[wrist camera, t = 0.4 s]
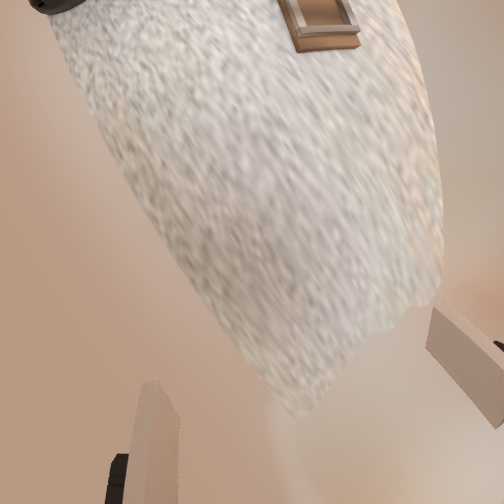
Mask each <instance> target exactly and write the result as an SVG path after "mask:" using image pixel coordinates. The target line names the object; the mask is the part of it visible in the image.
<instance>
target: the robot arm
mask: <svg viewBox="0 0 504 504" xmlns="http://www.w3.org/2000/svg"><path fill="white" fill-rule="evenodd" d="M83 1H85V0H29V3H30V5H31V6H32V7H33V8H35V9H36V10H37V11H39V12H40V13H43V14H56V13H60V12H63V11H66V10H68V9H71V8H73V7H75V6H77V5H78V4H80V3H82V2H83ZM425 348H426V349H427V350H428V351H429V352H430V353H431V355H432V356H433V357H434V358H435V359H436V360H437V361H438V362H439V363H440V364H441V365H442V367H443V368H444V369H445V370H446V371H447V372H448V373H449V375H450V376H451V377H452V378H453V379H454V380H455V381H456V383H457V384H458V385H459V386H460V387H461V388H462V390H463V391H464V392H465V393H466V394H467V396H468V397H469V398H470V399H471V400H472V401H473V403H474V404H475V405H476V406H477V407H478V409H479V410H480V411H481V412H482V413H483V415H484V416H485V417H486V419H487V420H488V421H489V422H490V424H491V425H492V426H493V427H494V429H497V428H498V427H499V426H500V425H502V424H503V423H504V344H503V343H500V342H498V341H494V342H492V341H491V340H489V339H488V338H487V337H486V336H485V335H484V334H482V333H481V332H480V331H479V330H478V329H477V328H476V327H474V326H473V325H472V324H471V323H470V322H468V321H467V320H466V319H465V318H464V317H463V316H461V315H460V314H459V313H458V312H456V311H455V310H454V309H453V308H452V307H450V306H449V305H448V304H446V303H445V302H442V303H439V304H437V305H435V306H433V311H432V317H431V322H430V327H429V333H428V338H427V342H426V347H425ZM179 429H180V416H179V414H178V413H177V411H176V410H175V408H174V406H173V405H172V403H171V401H170V400H169V398H168V396H167V395H166V393H165V391H164V389H163V388H162V386H161V384H160V382H159V381H150V382H143V384H142V389H141V393H140V398H139V403H138V408H137V413H136V418H135V423H134V429H133V435H132V440H131V446H130V452H129V454H117V455H116V457H115V458H114V460H113V461H112V463H111V468H110V473H109V475H110V477H109V480H108V485H107V492H106V499H105V504H178V454H179Z"/></svg>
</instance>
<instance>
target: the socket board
mask: <svg viewBox="0 0 504 504" xmlns="http://www.w3.org/2000/svg"><path fill="white" fill-rule="evenodd" d="M278 2H279V5H280V7H281V10H282V12H283V15H284V18H285V20H286V23H287V25H288V28H289V31H290V34H291V36H292V39H293V42H294V45H295V48H296V51H297V53H299V52H307V51H317V50H330V49H348V48H357V47H359V46H360V42H359V39H358V36H357V33H358V32H360V28H359V26H358V23H357V21H356V18H355V16H354V14H353V11H352V9H351V7H350V4H349V2H348V0H278Z"/></svg>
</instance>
